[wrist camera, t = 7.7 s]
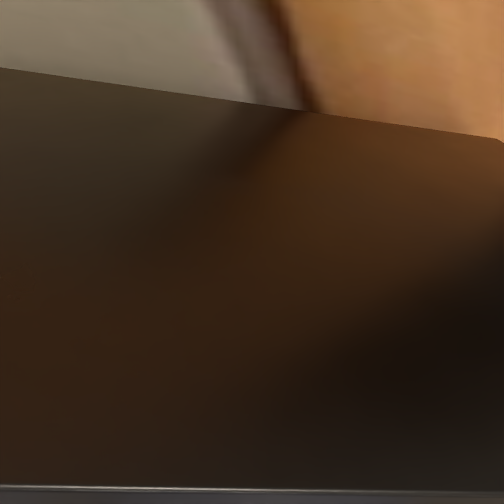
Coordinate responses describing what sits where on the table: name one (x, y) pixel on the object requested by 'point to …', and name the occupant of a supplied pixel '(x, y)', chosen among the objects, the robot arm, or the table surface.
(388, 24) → the table surface
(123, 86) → the screen
